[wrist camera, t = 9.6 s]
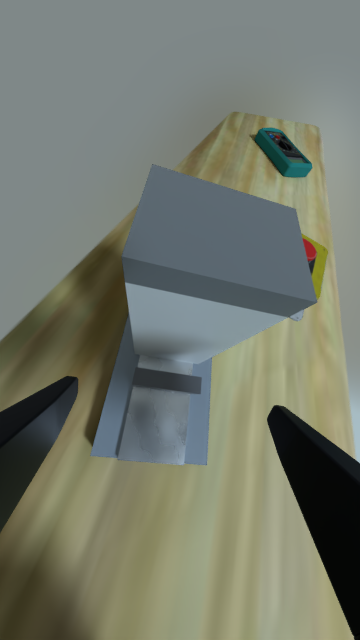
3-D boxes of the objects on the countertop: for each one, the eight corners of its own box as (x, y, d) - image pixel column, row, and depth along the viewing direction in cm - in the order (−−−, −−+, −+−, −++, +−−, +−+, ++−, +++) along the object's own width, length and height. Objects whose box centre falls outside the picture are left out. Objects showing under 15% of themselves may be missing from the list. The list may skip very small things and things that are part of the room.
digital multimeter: (273, 142, 46) (282, 127, 43) (305, 179, 41) (316, 165, 39) (251, 140, 44) (258, 124, 41) (282, 179, 39) (292, 163, 36)
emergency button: (338, 237, 27) (327, 312, 20) (313, 257, 31) (297, 325, 24) (285, 207, 27) (257, 270, 20) (266, 231, 31) (238, 290, 24)
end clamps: (190, 394, 16) (200, 394, 13) (133, 386, 15) (131, 384, 12) (198, 298, 20) (208, 283, 17) (154, 289, 19) (156, 271, 16)
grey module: (198, 364, 17) (317, 302, 5) (134, 354, 16) (121, 256, 5) (201, 320, 19) (294, 206, 7) (145, 308, 18) (153, 161, 7)
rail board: (201, 459, 15) (206, 465, 14) (95, 449, 14) (90, 455, 13) (209, 309, 22) (214, 303, 20) (136, 293, 20) (135, 286, 19)
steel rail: (182, 463, 14) (184, 465, 14) (118, 458, 13) (117, 459, 13) (197, 300, 20) (198, 298, 20) (154, 290, 19) (154, 288, 19)
